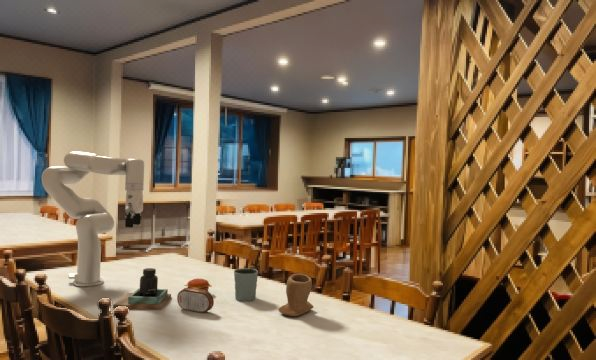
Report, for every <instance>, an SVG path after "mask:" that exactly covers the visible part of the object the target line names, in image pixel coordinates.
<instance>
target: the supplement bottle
mask: <svg viewBox="0 0 596 360" xmlns="http://www.w3.org/2000/svg"><path fill="white" fill-rule="evenodd" d="M156 271H157V270H156V268H152V267H150V268H149V267H148V268H147V267H146V268H143V270H142V275H141V276H140V278H139V288H140V290H139V297H157V289H158V284H159V283H158V282H159V277H158V276H157V275H156V273H157V272H156Z"/></svg>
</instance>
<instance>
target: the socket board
mask: <svg viewBox="0 0 596 360" xmlns="http://www.w3.org/2000/svg"><path fill="white" fill-rule="evenodd" d="M139 290H140V287H139V288H137V289H136V290H135V291H134V292H127V293H125V294H124V295H123V296H122V297H120V298H119V299H118V300H117V301H116V302H114V303H113V304H112V309H113V308H116V307H118V306H126V307H128V308H129V309H128V310H152V311H153V310H156V311H161V310H162V309H163V308H164V306H165V305H166V304H167V303H168V302H169V300H170V299H171V298H172V293H169V292H168V291H169V290H168V288H167V289H166V288H157V297H139Z"/></svg>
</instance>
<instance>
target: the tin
mask: <svg viewBox="0 0 596 360" xmlns="http://www.w3.org/2000/svg"><path fill="white" fill-rule="evenodd" d="M176 299H177V300H176V301H177V304H178V306H179V307H180V308H181V309H182V310H184V311H190V312H195V313H201V314H204V313H206V312H209V311H210V310H211V309H213V307H214V304H215V303H214V302H215V300H214V297H213V295H212V293H210V292H209V290H208V291H206V290H201V289H194V288H188V287H184V288H182V289H181V290H180V291H178V293H177V298H176Z"/></svg>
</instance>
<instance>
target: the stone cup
mask: <svg viewBox="0 0 596 360" xmlns="http://www.w3.org/2000/svg"><path fill="white" fill-rule="evenodd" d="M287 278H288V279H287V280H286V287H285V293H286V298H287V303H286V304H284V305H282V306H280V307H278V309H277V310H278V312H279V313H280V314H283V315H286V316H289V317H299V316H301V315H303V314H305V313H307V312H309V311H310V310H312V309H314V305H313V304H312V303H311V302H310V301H308V299H309V296H310V295H311V294H310V293H311V291H312V287H313V280H312V278H311V277H310V276H309V275H308V274H307V275H306V274H304V273H294V274H291V275H289V276H288V277H287Z"/></svg>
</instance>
